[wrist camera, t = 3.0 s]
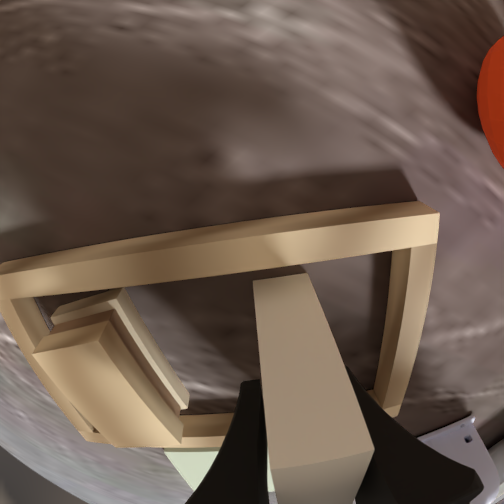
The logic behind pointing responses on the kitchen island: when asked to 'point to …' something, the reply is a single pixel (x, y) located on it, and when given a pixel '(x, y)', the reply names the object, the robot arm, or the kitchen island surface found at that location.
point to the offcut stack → (114, 371)
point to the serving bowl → (498, 463)
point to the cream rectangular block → (307, 398)
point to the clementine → (493, 99)
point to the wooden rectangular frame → (235, 261)
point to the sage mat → (199, 464)
